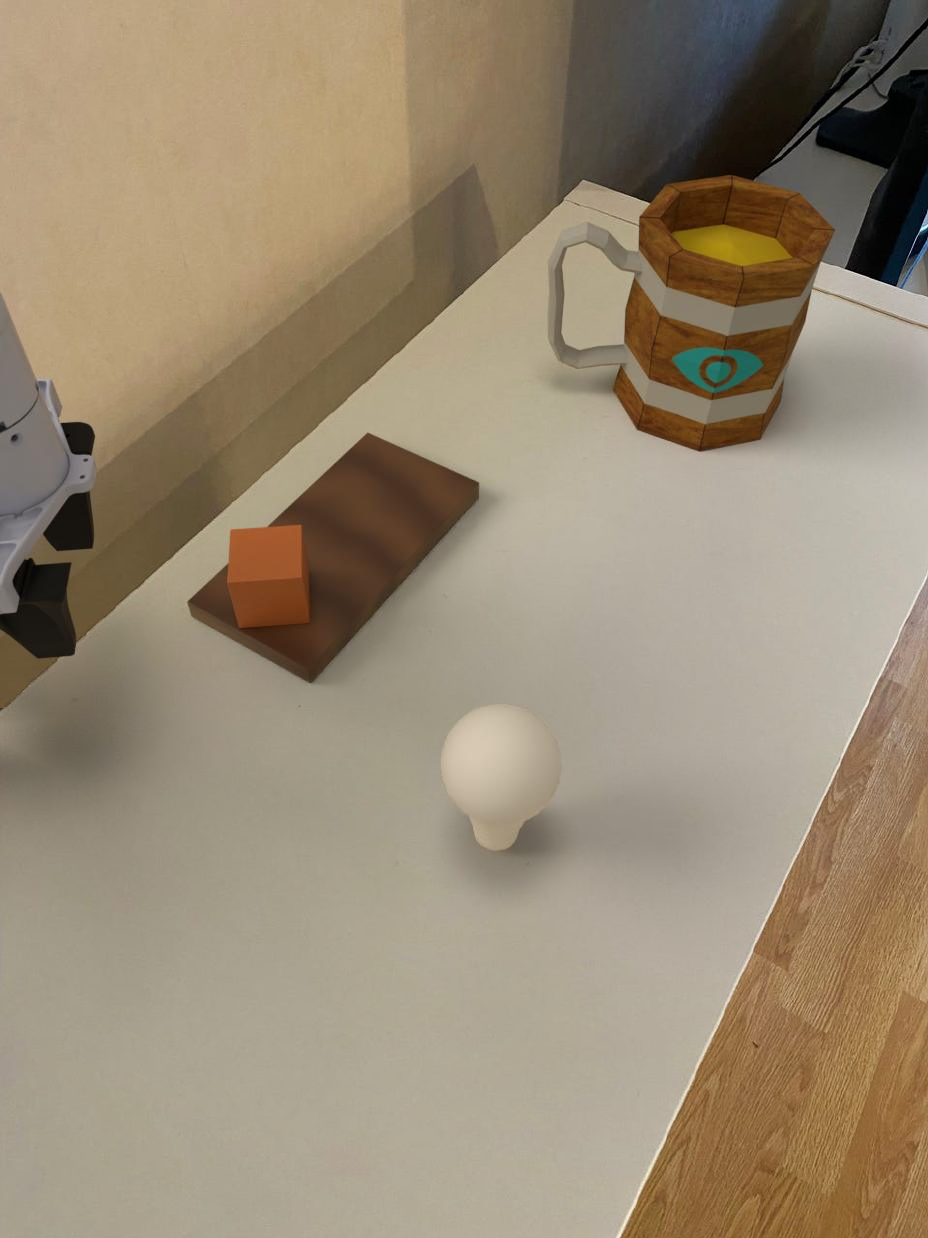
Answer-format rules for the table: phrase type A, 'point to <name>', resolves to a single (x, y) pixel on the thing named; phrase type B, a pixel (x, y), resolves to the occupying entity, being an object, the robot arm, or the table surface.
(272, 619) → the block
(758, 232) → the mug
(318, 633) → the board
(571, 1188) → the table surface
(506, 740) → the lightbulb
